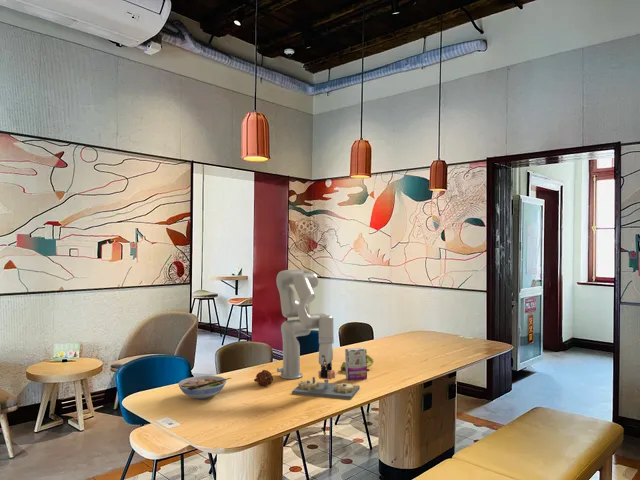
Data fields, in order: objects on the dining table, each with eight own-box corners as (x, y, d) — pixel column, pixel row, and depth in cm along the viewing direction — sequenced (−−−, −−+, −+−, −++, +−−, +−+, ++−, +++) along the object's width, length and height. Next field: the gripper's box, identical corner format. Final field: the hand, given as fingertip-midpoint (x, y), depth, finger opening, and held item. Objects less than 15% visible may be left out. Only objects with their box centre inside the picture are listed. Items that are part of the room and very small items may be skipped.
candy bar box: (364, 376, 258) (363, 347, 259) (367, 379, 254) (367, 349, 254) (345, 378, 255) (344, 348, 256) (348, 380, 251) (347, 350, 251)
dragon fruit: (270, 391, 238) (257, 389, 246) (280, 378, 243) (266, 377, 252) (261, 379, 235) (248, 378, 244) (271, 367, 240) (258, 366, 249)
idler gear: (316, 378, 230) (316, 372, 230) (320, 375, 236) (320, 369, 236) (332, 379, 227) (332, 373, 227) (336, 376, 233) (336, 370, 234)
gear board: (292, 393, 228) (292, 380, 228) (304, 384, 245) (304, 371, 245) (351, 399, 218) (351, 385, 219) (359, 388, 236) (359, 375, 236)
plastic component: (353, 370, 264) (342, 360, 270) (349, 380, 266) (339, 370, 273) (377, 362, 276) (366, 352, 283) (374, 372, 279) (363, 362, 285)
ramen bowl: (209, 386, 240) (209, 371, 241) (237, 395, 226) (237, 378, 226) (166, 398, 221) (166, 381, 221) (194, 408, 207) (195, 390, 207)
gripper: (324, 337, 242) (324, 371, 241) (313, 343, 225) (314, 379, 224) (337, 337, 239) (338, 372, 239) (328, 343, 223) (328, 380, 222)
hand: (326, 375), depth 232 cm, fingers closed on idler gear, 6 cm apart
